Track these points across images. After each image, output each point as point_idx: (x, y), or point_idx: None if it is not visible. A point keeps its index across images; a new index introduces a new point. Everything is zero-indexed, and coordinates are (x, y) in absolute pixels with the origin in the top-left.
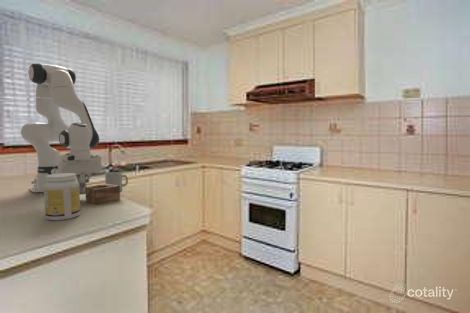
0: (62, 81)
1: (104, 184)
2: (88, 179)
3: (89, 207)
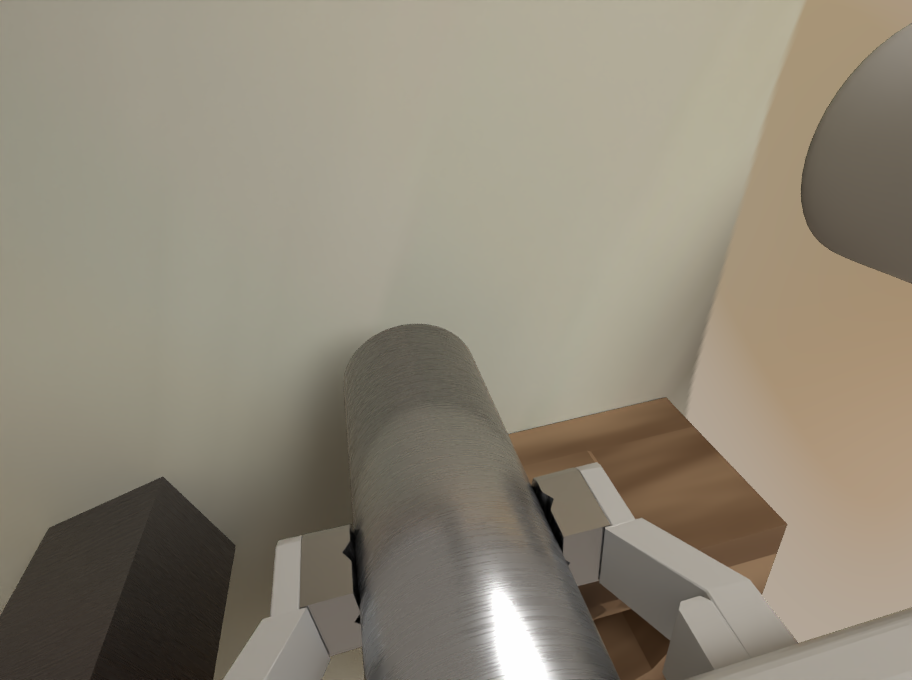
0: None
1: (713, 554)
2: (607, 575)
3: (349, 654)
